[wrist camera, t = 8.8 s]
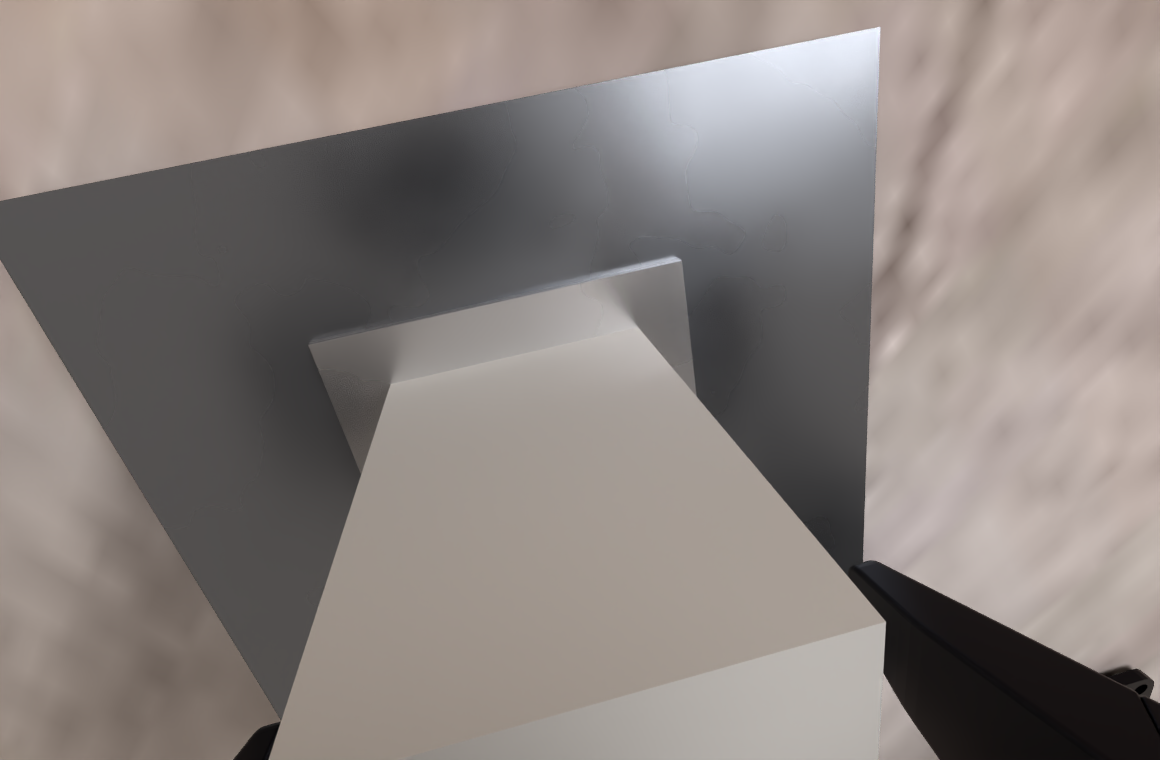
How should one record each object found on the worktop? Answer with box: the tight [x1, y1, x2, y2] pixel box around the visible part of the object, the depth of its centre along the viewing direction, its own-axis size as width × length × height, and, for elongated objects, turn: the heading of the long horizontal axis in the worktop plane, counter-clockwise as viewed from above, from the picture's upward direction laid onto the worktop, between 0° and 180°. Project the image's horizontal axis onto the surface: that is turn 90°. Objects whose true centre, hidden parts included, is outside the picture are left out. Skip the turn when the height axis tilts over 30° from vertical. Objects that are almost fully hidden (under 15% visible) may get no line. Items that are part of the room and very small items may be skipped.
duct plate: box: [0, 27, 880, 720], centre depth 13 cm, size 16×14×1 cm
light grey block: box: [269, 327, 886, 760], centre depth 9 cm, size 5×8×7 cm, turn 10°
